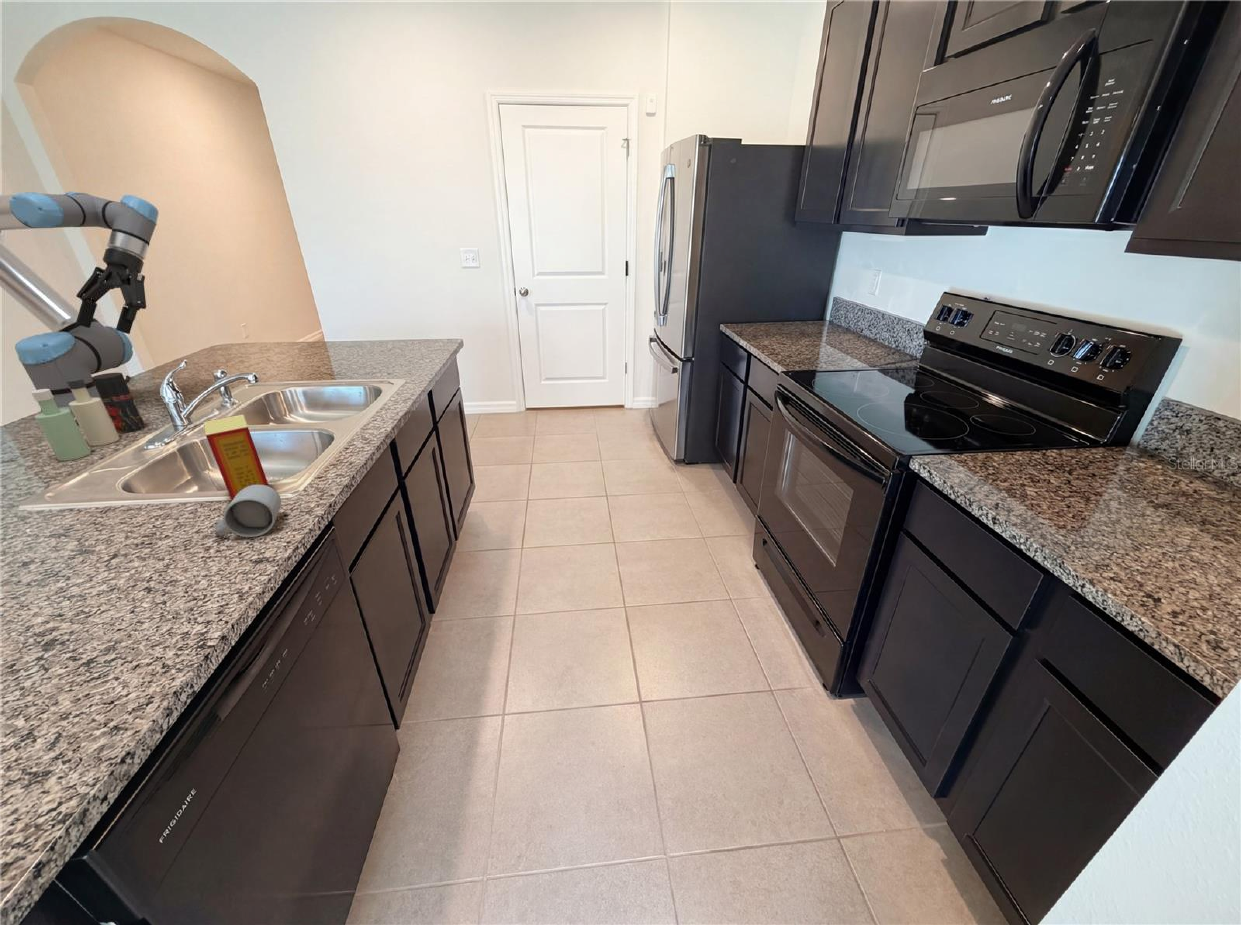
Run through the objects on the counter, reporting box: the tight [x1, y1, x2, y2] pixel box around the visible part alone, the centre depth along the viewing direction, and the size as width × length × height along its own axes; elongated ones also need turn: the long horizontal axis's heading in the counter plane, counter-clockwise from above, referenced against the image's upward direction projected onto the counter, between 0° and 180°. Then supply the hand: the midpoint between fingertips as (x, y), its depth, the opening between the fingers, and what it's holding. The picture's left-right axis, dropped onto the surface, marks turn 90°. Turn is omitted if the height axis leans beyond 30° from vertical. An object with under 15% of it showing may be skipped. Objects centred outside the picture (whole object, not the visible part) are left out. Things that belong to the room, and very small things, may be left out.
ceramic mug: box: [213, 485, 282, 538], centre depth 92 cm, size 11×8×8 cm
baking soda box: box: [203, 413, 270, 501], centre depth 102 cm, size 10×6×16 cm
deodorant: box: [92, 372, 146, 434], centre depth 135 cm, size 6×6×15 cm
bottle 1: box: [30, 389, 92, 462], centre depth 119 cm, size 6×6×16 cm
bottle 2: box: [66, 378, 120, 447], centre depth 127 cm, size 6×6×16 cm
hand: (102, 329), depth 134 cm, fingers open, 13 cm apart
